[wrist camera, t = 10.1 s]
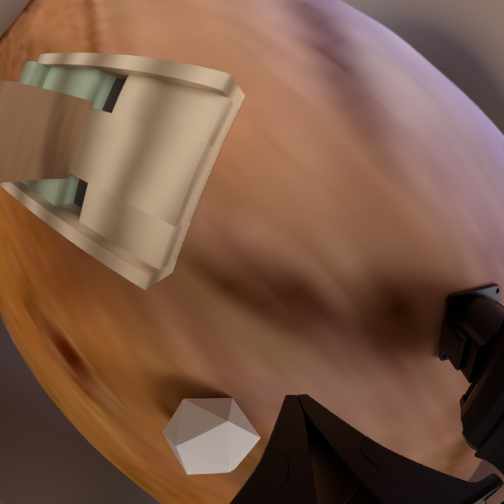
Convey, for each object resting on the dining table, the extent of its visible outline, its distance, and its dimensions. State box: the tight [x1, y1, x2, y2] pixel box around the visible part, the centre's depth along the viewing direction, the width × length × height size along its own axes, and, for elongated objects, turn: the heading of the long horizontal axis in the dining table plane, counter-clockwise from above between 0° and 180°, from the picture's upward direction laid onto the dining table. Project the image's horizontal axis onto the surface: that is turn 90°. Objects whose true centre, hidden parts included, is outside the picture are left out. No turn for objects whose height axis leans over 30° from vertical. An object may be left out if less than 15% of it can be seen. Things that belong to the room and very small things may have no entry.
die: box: [163, 398, 260, 474], centre depth 22 cm, size 8×9×10 cm
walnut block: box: [0, 81, 94, 183], centre depth 15 cm, size 6×7×9 cm
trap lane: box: [1, 53, 245, 290], centre depth 19 cm, size 24×15×6 cm, turn 66°
